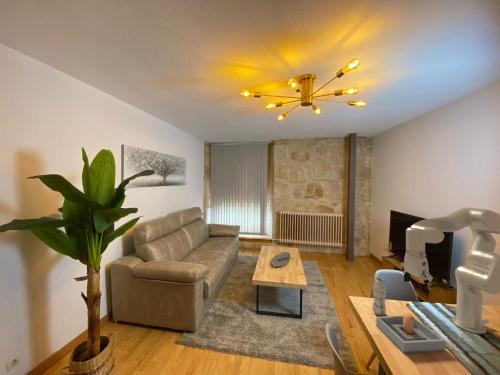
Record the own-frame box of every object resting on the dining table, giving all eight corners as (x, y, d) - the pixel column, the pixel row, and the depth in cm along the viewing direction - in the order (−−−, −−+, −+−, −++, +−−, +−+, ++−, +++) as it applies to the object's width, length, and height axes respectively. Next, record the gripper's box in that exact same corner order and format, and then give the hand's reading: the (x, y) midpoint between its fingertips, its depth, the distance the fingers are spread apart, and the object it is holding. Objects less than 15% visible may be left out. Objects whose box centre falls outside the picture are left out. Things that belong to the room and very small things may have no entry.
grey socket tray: (411, 324, 113) (411, 315, 113) (445, 351, 95) (445, 340, 95) (376, 326, 111) (376, 316, 111) (403, 353, 93) (404, 342, 93)
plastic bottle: (388, 318, 118) (388, 282, 117) (374, 316, 119) (375, 281, 119) (383, 311, 124) (384, 277, 124) (370, 309, 126) (371, 276, 125)
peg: (408, 332, 105) (409, 313, 105) (415, 338, 101) (416, 318, 101) (400, 333, 105) (401, 313, 104) (407, 339, 101) (408, 318, 100)
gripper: (439, 258, 97) (439, 294, 98) (407, 246, 114) (407, 277, 115) (424, 259, 96) (424, 295, 97) (394, 247, 114) (394, 278, 114)
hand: (415, 286), depth 106 cm, fingers open, 9 cm apart
